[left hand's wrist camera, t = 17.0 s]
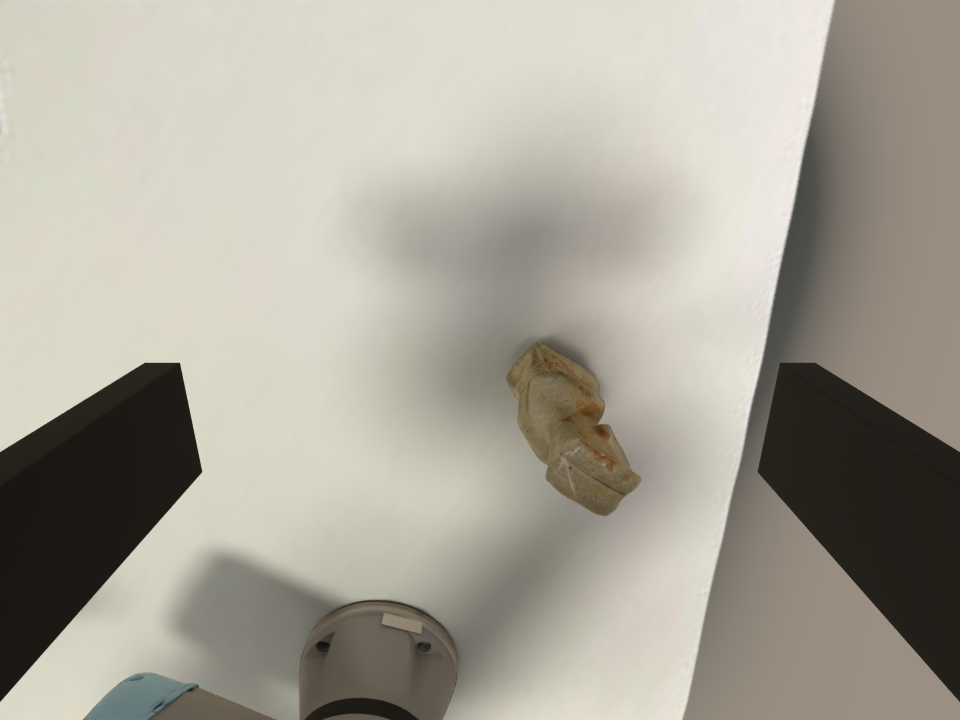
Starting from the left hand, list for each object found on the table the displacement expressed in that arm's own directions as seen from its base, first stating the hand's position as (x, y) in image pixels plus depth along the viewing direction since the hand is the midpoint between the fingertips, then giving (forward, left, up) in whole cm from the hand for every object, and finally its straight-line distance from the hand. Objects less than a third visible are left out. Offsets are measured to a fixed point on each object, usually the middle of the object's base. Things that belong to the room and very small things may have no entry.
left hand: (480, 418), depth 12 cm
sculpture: (-11, -6, -30) cm, 32 cm away
